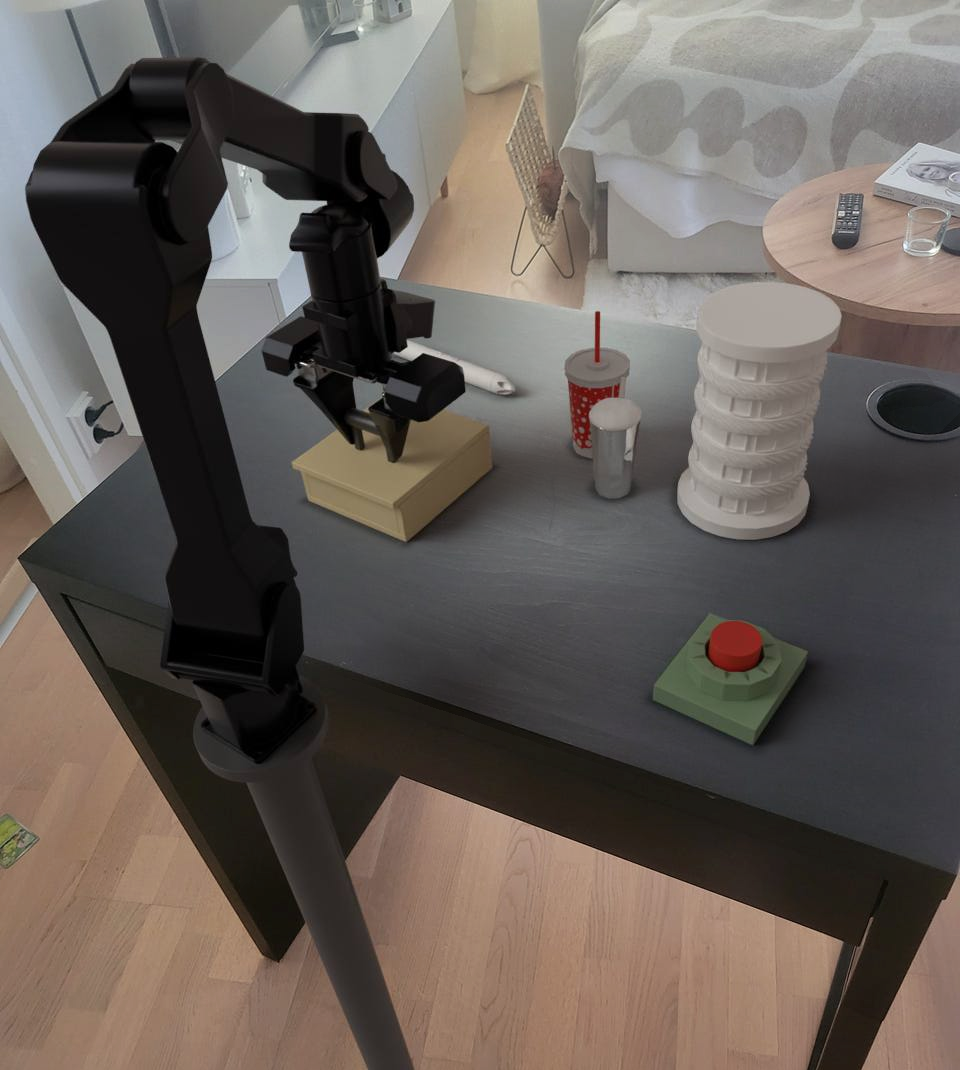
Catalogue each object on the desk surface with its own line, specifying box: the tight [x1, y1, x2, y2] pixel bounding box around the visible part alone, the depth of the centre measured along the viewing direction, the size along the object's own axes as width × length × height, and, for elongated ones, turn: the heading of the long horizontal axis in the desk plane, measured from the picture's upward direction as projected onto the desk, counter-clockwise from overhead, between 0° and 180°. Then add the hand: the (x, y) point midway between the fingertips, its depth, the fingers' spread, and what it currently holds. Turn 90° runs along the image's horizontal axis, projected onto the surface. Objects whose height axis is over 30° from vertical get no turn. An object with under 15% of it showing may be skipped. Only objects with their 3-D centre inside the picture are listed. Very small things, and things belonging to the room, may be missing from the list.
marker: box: [392, 339, 516, 396], centre depth 105 cm, size 18×2×2 cm, turn 49°
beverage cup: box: [563, 310, 631, 460], centre depth 89 cm, size 6×6×14 cm
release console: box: [652, 612, 809, 746], centre depth 70 cm, size 9×8×4 cm
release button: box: [708, 621, 762, 672], centre depth 68 cm, size 4×4×2 cm
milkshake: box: [589, 377, 642, 500], centre depth 86 cm, size 4×5×10 cm
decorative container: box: [676, 281, 843, 541], centre depth 80 cm, size 12×12×18 cm
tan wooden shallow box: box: [300, 430, 493, 543], centre depth 91 cm, size 13×12×4 cm
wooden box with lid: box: [291, 396, 490, 509], centre depth 88 cm, size 14×12×5 cm
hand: (375, 450), depth 87 cm, fingers closed on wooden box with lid, 5 cm apart
